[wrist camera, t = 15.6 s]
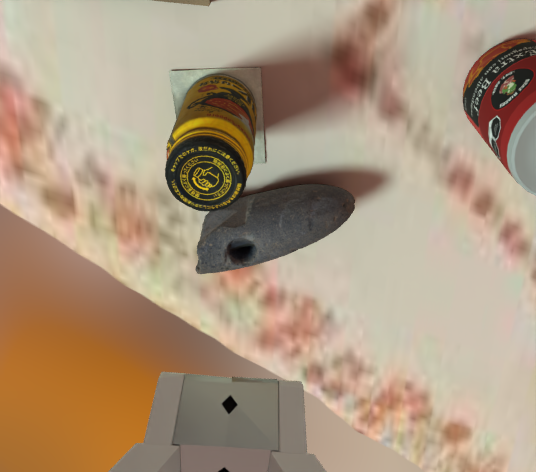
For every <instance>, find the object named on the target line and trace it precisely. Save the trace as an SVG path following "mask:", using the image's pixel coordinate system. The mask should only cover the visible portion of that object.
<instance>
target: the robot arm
mask: <svg viewBox="0 0 536 472" xmlns="http://www.w3.org/2000/svg"><path fill="white" fill-rule="evenodd" d="M109 472H326V470H325V469H324V468H323V466H322V465H321V463H320V462H319V460H318V459H317V458H316V456H315V455H314V454H308V453H307V444H306V425H305V408H304V390H303V384H302V382H301V381H285V380H277V379H261V378H243V377H232V378H227V377H216V376H206V375H195V374H185V373H172V372H161V374H160V377H159V379H158V383H157V387H156V391H155V396H154V400H153V404H152V409H151V413H150V417H149V422H148V426H147V430H146V435H145V439H144V443H136V444H135V445H134V446H133V447H132V448H131V449H130V450H129V451H128V452H127V453H126V454H125V455H124V456H123V457H122V458H121V459H120V460H119V461H118V462H117V464H115V465H114V466H113V468H111V469H110V470H109Z"/></svg>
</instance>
